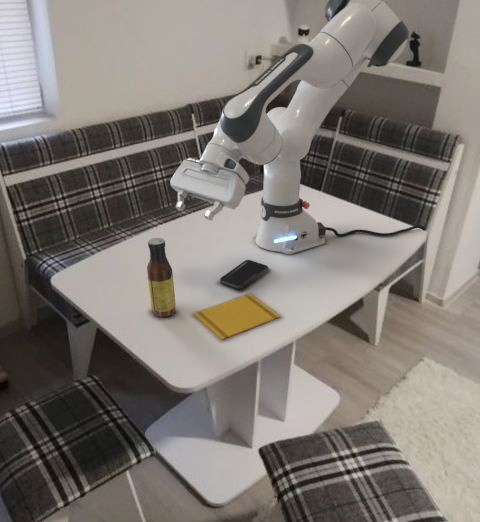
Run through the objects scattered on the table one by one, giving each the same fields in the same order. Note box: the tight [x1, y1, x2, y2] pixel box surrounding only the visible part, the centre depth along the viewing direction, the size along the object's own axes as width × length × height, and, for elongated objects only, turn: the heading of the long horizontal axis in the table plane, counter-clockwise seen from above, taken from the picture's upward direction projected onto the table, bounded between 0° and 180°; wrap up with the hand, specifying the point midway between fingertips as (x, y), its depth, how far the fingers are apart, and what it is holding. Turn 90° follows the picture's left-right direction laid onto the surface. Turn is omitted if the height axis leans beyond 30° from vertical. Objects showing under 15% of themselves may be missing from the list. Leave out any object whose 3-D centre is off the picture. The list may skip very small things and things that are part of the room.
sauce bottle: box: [146, 237, 176, 318], centre depth 130 cm, size 7×6×20 cm
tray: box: [193, 293, 281, 341], centre depth 135 cm, size 18×13×1 cm
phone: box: [219, 259, 269, 291], centre depth 151 cm, size 8×1×15 cm
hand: (193, 214), depth 130 cm, fingers open, 8 cm apart
